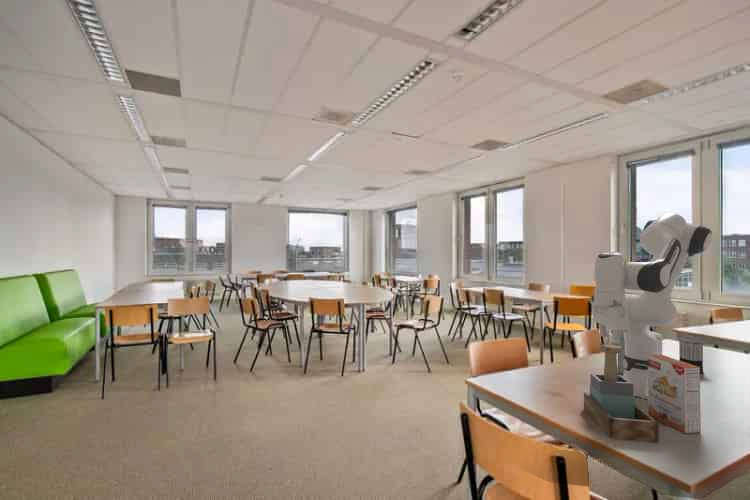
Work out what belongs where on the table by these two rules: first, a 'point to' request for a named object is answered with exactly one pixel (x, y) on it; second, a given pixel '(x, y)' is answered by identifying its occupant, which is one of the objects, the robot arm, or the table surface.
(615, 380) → the handle
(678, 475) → the table surface
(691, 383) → the cracker box
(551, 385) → the table surface
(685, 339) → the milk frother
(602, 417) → the bay
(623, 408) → the box
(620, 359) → the hard drive box
